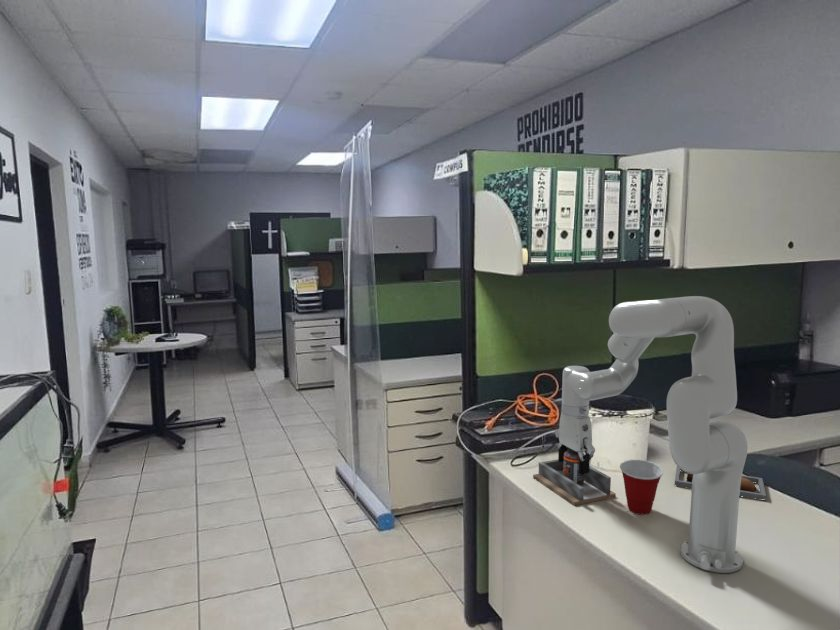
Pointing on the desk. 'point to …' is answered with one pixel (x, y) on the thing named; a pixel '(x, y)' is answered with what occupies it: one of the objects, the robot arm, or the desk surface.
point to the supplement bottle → (572, 466)
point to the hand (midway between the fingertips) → (573, 467)
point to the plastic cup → (640, 484)
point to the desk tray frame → (742, 493)
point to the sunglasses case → (744, 486)
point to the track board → (575, 494)
